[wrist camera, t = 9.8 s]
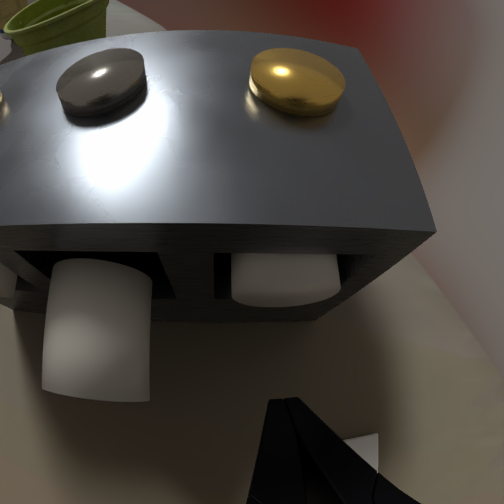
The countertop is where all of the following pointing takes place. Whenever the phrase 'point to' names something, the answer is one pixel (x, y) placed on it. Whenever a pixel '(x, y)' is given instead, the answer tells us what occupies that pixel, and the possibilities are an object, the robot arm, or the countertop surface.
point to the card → (366, 448)
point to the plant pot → (57, 24)
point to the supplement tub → (10, 12)
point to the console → (203, 165)
